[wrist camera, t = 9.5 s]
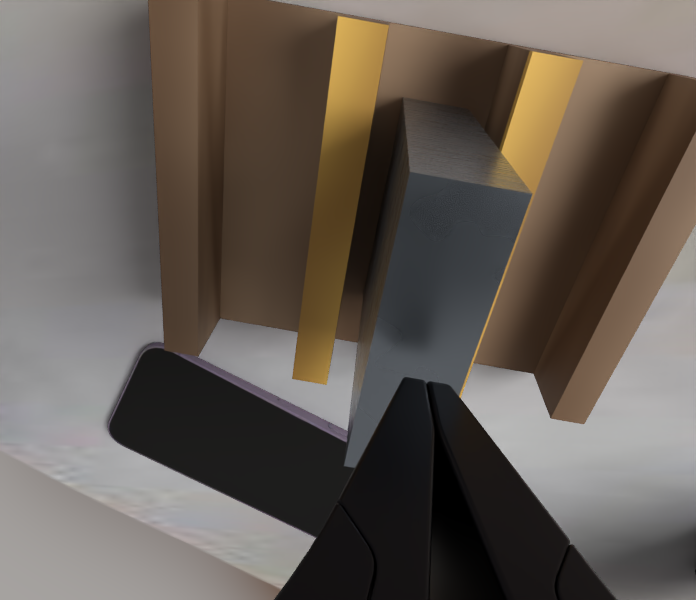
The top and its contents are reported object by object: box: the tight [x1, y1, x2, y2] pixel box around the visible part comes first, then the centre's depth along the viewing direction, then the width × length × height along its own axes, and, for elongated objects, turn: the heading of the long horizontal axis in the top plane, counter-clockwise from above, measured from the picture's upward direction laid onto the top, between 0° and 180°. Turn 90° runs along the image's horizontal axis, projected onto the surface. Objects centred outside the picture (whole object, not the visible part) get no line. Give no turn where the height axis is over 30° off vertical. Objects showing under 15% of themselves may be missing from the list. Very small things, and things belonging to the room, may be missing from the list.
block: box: [344, 97, 532, 468], centre depth 13 cm, size 2×7×8 cm, turn 171°
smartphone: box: [108, 342, 355, 538], centre depth 25 cm, size 7×1×15 cm
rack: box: [148, 0, 696, 424], centre depth 16 cm, size 15×11×4 cm
